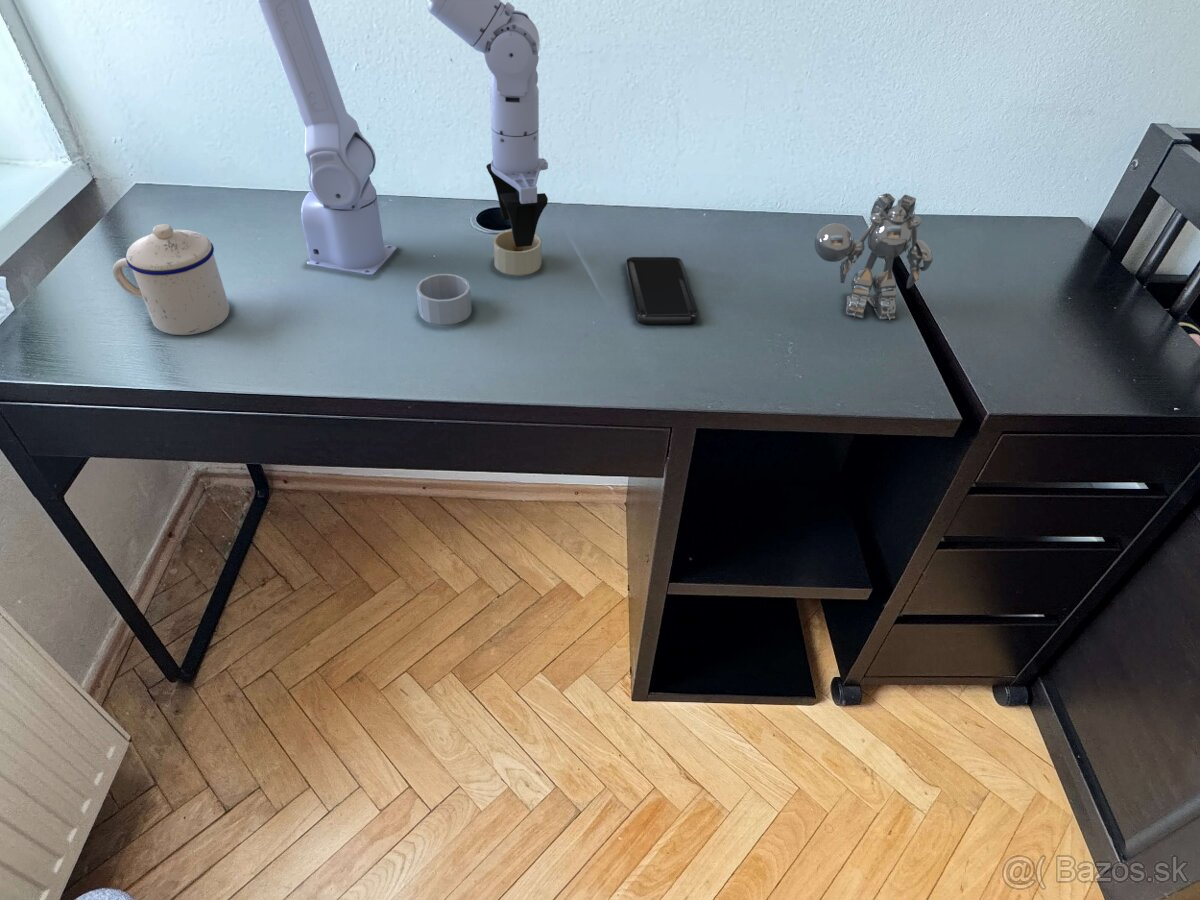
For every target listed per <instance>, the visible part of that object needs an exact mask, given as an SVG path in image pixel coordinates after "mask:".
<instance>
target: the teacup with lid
mask: <svg viewBox="0 0 1200 900" xmlns="http://www.w3.org/2000/svg"><path fill="white" fill-rule="evenodd" d="M214 252H215V248H214V244H213V243H212V242H211V240H210V239H209V238H208V237H207V236H206V235H204V234H203V233H200V232H197V231H194V230H188V229H174V228H173V227H172V226H171V225H169V224H167V223H160V224H157V225H155V226H153V228H152V233H150V234H147V235H145V236H143V237H141V238H138V239H137V240H136V241H134V242H133V243H132V244H131V245H130V246H129V247H128V249H127V251H126V257H122V258H120V259H118V260H117V261H116V262H115V263H114V264H113V267H112V275H113V277H114V279H115V281H116V282H117V283H118V285H119V286H120V287H121V288H122V290H124V291H125V292H126V293H127V294H129V295H131V296H133V297H135V298H139V299H143V301H144V304H145V306H146V309H147V312H148V315H149V317H150V320H151V323H152V324H153V327H155V328H156V329H157V330H159V331H161V332H162V333H165V334H168V335H174V336H190V335H197V334H201V333H204V332H207V331H211V330H212V329H214V328H217V327H218V326H219V325H221V324H222V323H223V322H224V321H225V320H226V319H227V318H228V316H229V314H230V311H231V310H230V304H229V301H228V298H227V294H226V291H225V288H224V284H223V281H222V277H221V273H220V271H219V268H218V264H217V262H216V258H215V255H214ZM124 267H127V268H130V269H131V270H132V273H133V275H134V278H135V280H136V284H137V285H138V287H137V286H135V285H134V284H133V283H132V282H131V281H129V279H128V278H127V277H126V275H125V273H124V270H123V268H124Z"/></svg>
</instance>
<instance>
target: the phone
mask: <svg viewBox="0 0 1200 900" xmlns="http://www.w3.org/2000/svg"><path fill="white" fill-rule="evenodd" d="M625 263H626V264H625V270H626V275H627V276H626V277H627V280H628V285H629V291H630V295H631V300H632V306H633V310H634V315H635V319H636V322H638V323H639V324H642V325H694V324H696V323H697V321H698V317H699V310H698V307H697V303H696V300H695V298H694V294H693V291H692V288H691V285H690V281H689V278H688V275H687V272H686V268H685V265H684V262H683V260H682V259H681V258H680V257H676V256H675V257H674V256H630V257H628V258H626V262H625Z"/></svg>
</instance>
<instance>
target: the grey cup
mask: <svg viewBox="0 0 1200 900" xmlns="http://www.w3.org/2000/svg"><path fill="white" fill-rule="evenodd" d="M471 296H472V295H471V284H470V282H469V281H468V280H467V279H466V278H465V277H462V276H460V275H458V274H454V273H453V274H452V273H436V274H432V275H428V276H426V277H424V278H422V279H421V280H420V281H419V282H418V283H417V284H416V299H417V306H418V307H417V308H418V314H419V316H420V318H422V320H423V321H425V322H427V323H429V324H432V325H437V326H450V325H457V324H458V323H461V322H463V321H465V320H467V319H468V318H469V317H470V316H471V314H472V312H473V309H472V297H471Z"/></svg>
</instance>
